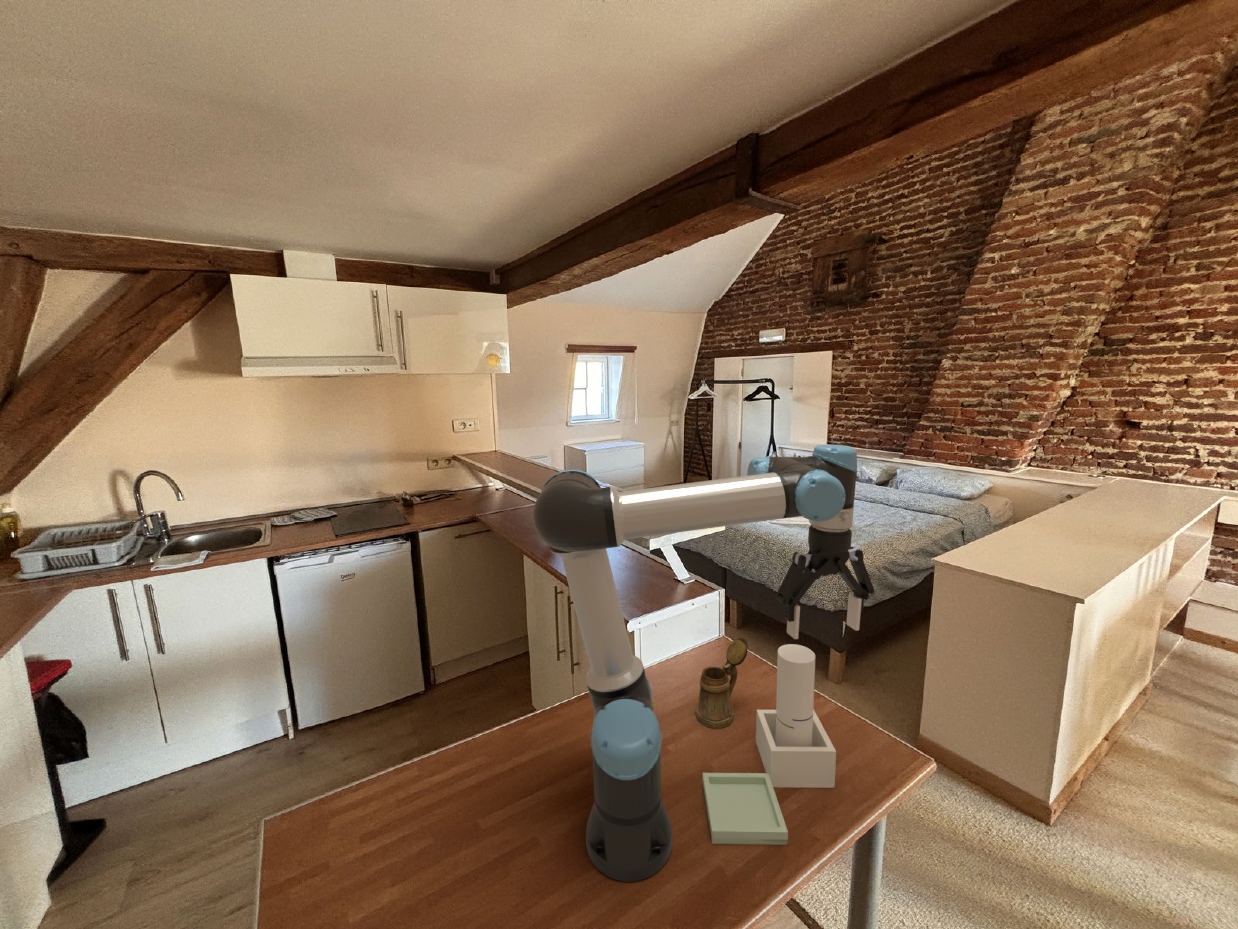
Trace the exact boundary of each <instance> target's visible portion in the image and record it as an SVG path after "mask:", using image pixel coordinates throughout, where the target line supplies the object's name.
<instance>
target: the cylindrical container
mask: <svg viewBox="0 0 1238 929" xmlns="http://www.w3.org/2000/svg"><path fill="white" fill-rule="evenodd" d="M776 664H777V666H776V667H777V669H776V701H775V702H776V703H775V705H776V706H775V707H776V708H775V710H776V740H775V745H776V747H812V731H813V710H814V704H815V701H814V700H815V676H816V675H815V674H816V672H815V671H816V654H815V652H814V651H812V650H811V649H810V648H808V647H807V646H803V645H800V644H793V643H792V644H791V643H788V644H783V645H781V646H779V648H777V663H776Z"/></svg>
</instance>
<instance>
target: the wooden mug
mask: <svg viewBox="0 0 1238 929" xmlns="http://www.w3.org/2000/svg"><path fill="white" fill-rule="evenodd" d="M747 655H748V642H747V639H746V638H743V637H741V638H736V639H734V640H733V641H732V642H731V643H730V644H729V645H728V647H727V650H726V662H725V664H724V666H722V668H720V667H717V666H708V667H705V668H704V669H702V672H701V675H700V678H699V686H700V687H699V688H700V689H699V696H698V701H697V702H698V703H697V705H696V710H695V717H696V719H697V721H698V722H699V723H700V724H701V725H702V726H703V725H704V726H705V727H708V728H711V729H717V730H718V729H724V728H726V727H728V726H729V725H731V724H732V723H733V722H734V719H735V716H734V708H733V706H732V703H731V702H732V701H731V696H732V693H733V690H734V688H735V685H736V682H737V679H738V669H737V666H740V665H742V663H744V661H745V660H746V657H747ZM729 676H730V678H729Z"/></svg>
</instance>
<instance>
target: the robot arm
mask: <svg viewBox="0 0 1238 929" xmlns="http://www.w3.org/2000/svg"><path fill="white" fill-rule="evenodd" d="M812 452H813V453H812V454H811V455H809V456H771V455H767V456H761V457H753V458H752V459H751V460H750V462H749V464H748V467H747V472H746V475H743V476H735V477H728V478H726V477H725V478H718V479H711V480H703V481H694V482H686V483H680V484H672V485H664V486H656V487H648V488H640V489H633V490H631V489H630V490H625V491H618V490H617V489H616V488H615V487H613V486H607V487H601V485H600V484H599V482H598V480H597V479H596V478H594V477H593V476H592V475H591V474H589V473H588V472H585V471H584V470H581V469H565V470H562V471H559V472H557V473H555V474H554V475H553V476H551V477H550V478H549V479H548V480H546V481H545V483H544V485H543V487H542V489H541V492H540V493H539V495H538V497H537V498H536V500H535V503H534V505H533V510H532V521H533V526H534V529H535V531H536V533H537V535H538V536H539V537H540V539H541V541H543V542H544V543H545V544H546V545H547V546H549V549H550V551H551V553H552V554H553V555H556V556H558V557H560V558H561V562H562V565H563V569H564V573H565V577H566V580H567V584H568V588H569V591H570V596H571V599H572V603H573V606H574V610H575V614H576V618H577V622H578V626H579V628H580V633H581V637H582V641H583V644H584V648H585V652H586V655H587V656H586V657H587V659H588V663H589V666H590V668H589V670H588V671H587V673H586V675H585V682H586V687H587V690H588V694H589V697H590V700H591V705H592V709H593V723H592V729H591V732H590V733H591V734H590V746H591V750H592V771H593V793H594V801H593V805H592V807H591V810H590V814H589V816H588V818H587V823H586V828H585V829H586V830H585V842H586V845H585V846H586V851H587V854H588V856H589V860H590V861H591V863H592V864H593V865H594V867H595V868H596V869H597V870H598V872H600V873H601V874H603V875H604V876H606V877H608V878H610V879H612V880H616V881H620V882H629V883H630V882H631V883H632V882H639V881H642V880H646V879H648V878H650V877H652V876H654V875H655V874H657V873H658V872H659V871H660V870H662V868H663V867H664V865H665V864H667V861H668V859H669V857H670V855H671V851H672V847H673V830H672V829H673V828H672V824H671V820H670V817H669V815H668V813H667V810H666V807H665V804H664V802H663V800H662V771H661V769H662V767H661V766H662V765H661V763H662V762H661V761H662V760H661V758H662V757H661V750H662V743H663V742H662V741H663V740H662V732H661V728H660V723H659V720H658V717H657V716H656V714H655V712H654V706H653V699H652V694H653V693H652V687H651V684H650V681H649V679H648V677H647V675H646V671H645V667H644V663H643V661H642V660H641V659H640V657H639V656H636V655H634V654H633V650H632V648H631V643H630V639H629V634H628V631H627V626H626V623H625V622H626V621H625V618H624V615H623V610H622V607H621V602H620V598H619V596H618V595H619V594H618V591H617V586H616V584H615V583H616V582H615V579H614V576H613V571H612V566H611V563H610V559H609V554H608V550H607V549H612V548H619V547H621V545H622V544H623V543H624V542H625V541H626V540H630V539H631V540H632V539H637V538H646V537H653V536H655V537H656V536H660V535H668V534H676V533H684V532H690V531H691V532H692V531H699V530H707V529H714V528H722V527H729V526H736V525H744V524H751V523H752V524H753V523H759V522H767V521H775V520H781V519H783V520H784V519H790V518H798V517H799V518H800V517H803V518H804V519H806V520H808V522H809V524H811V525H810V526H808V535H807V536H808V538H807V539H808V540H807V542H808V547H809V550H808V552H807V553H800V552H798V551H794V553H792V554H793V555H792V561H791V564H790V567H789V568H788V570H787V572H786V574H785V577H784V578H783V580H782V583H781V584H780V586H779V588H778V590H777V592H776V594H775V599H776V600H777V601H779V602H780V603H781V604H783V605H784V614H783V616H784V619H785V620H786V622H787V623H786V633H787V634H788V635H789V636H790V637H791V638H792V639H794V640H799V632H800V630H799V629H800V615H801V614H800V613H801V606H800V605H798V603H799V602H800V601H801V599H802V598H803V597H804V596H805V595H806V593H807V592H808V591H809V589H811V587H812V585H814V582H816V581H817V580H819V579H821V577H825V576H826V577H827V576H830V575H833V576H838V575H839V576H840V577H841V579H842V580H843V581H844V582H845V584H846V586H847V587H848V588H849V589H850V591H851V592H852V593H848V600H847V611H846V613H847V614H846V625H847V626H848V627H849V628H851V629H853V630H854V631H857V632H858V631H859V630H860V623H861V613H863V611H864V604H865V603H864V602H865V600H869V598H870V595H873V594H874V593H875V588H874V585H873V583H872V580H871V577H870V574H869V572H868V569H867V567H866V564H865V561H864V551H863V550H861V549H859V548H857V547H855V546H852V537H853V532H852V530H851V528H852V527H853V520H854V508H855V497H856V496H855V495H856V483H857V475H858V472H859V471H858V453H857V450H856V448H854V447H852V446H848V445H842V444H818V445H816V446H815V447H814V448H813V451H812ZM848 560H849V562H850V564H851V566H852V569H853V573H854V574H855V576H854V575H853V574H852V571H851V570H850V568H849V567H848V565H847V564H846V563H847V562H848ZM855 577H856V578H855Z"/></svg>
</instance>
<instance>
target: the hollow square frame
mask: <svg viewBox="0 0 1238 929" xmlns="http://www.w3.org/2000/svg"><path fill="white" fill-rule="evenodd" d="M755 721H756V723H755V726H756V728H755V731H756V732H755V743H756V746H757V750H758V753H759V756H760V758H761V761H762V765H763V769H764V771H765V773H769V776H770V779H771V782H772V785H773V788H802V789H803V788H815V789H816V788H817V789H819V788H820V789H821V788H822V789H823V788H826V789H829V788H831V789H834V788H835V787H836V786H835V785H836V783H835V782H836V781H835V780H836V763H837V751H836V749H835V747H834V745H833V743H832V741H831V739H830V737H829V735H828V734H827V731H826V730H825V728H824V726H823V724H822V722H821V720H820V719H819V717H818V715H817V713H816V711H815V709H813V731H812V747H776V745H775V740H776V709H756V720H755Z"/></svg>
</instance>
